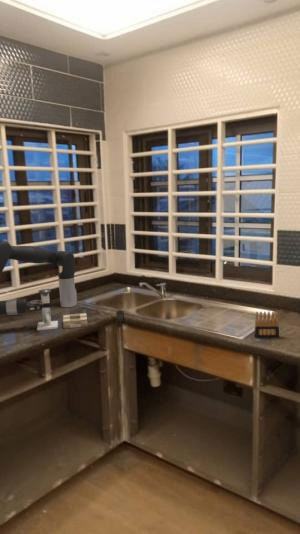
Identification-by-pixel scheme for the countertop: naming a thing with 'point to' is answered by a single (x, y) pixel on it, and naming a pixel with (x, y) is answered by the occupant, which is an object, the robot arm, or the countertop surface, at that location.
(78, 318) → the eye block
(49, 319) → the steel hook peg
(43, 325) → the pad
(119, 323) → the hand tool
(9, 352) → the countertop surface
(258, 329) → the ammunition clip
